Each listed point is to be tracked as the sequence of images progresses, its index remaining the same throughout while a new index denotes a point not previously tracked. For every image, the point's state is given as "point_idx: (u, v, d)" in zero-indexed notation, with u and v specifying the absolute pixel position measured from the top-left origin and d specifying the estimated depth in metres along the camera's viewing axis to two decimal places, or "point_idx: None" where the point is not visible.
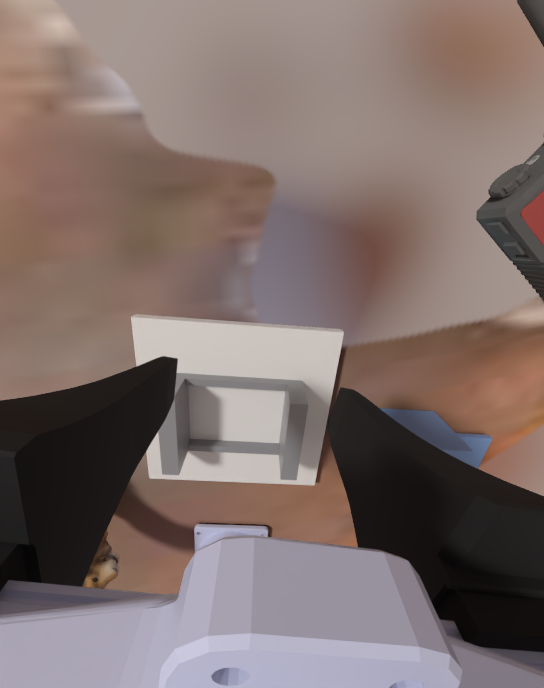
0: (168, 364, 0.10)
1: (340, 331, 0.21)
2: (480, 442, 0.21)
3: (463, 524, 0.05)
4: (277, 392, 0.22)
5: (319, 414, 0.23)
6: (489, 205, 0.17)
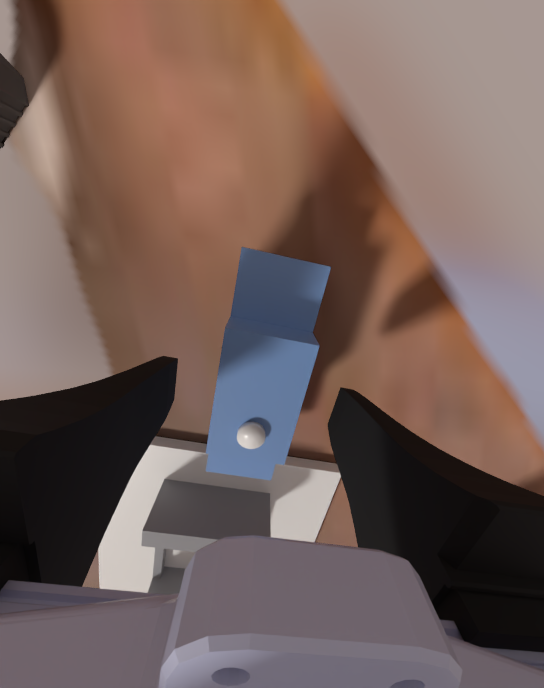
0: (168, 364, 0.10)
1: None
2: (249, 271, 0.11)
3: (463, 524, 0.05)
4: None
5: None
6: None
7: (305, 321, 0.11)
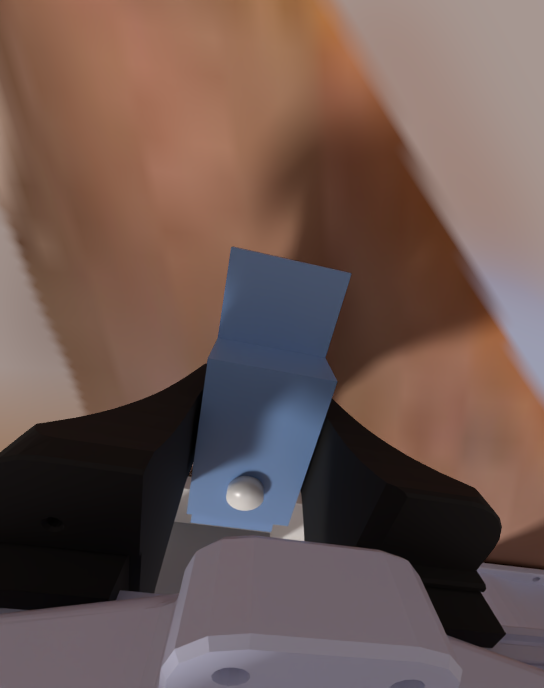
0: None
1: None
2: (242, 279, 0.08)
3: (377, 512, 0.05)
4: None
5: None
6: None
7: (316, 344, 0.09)
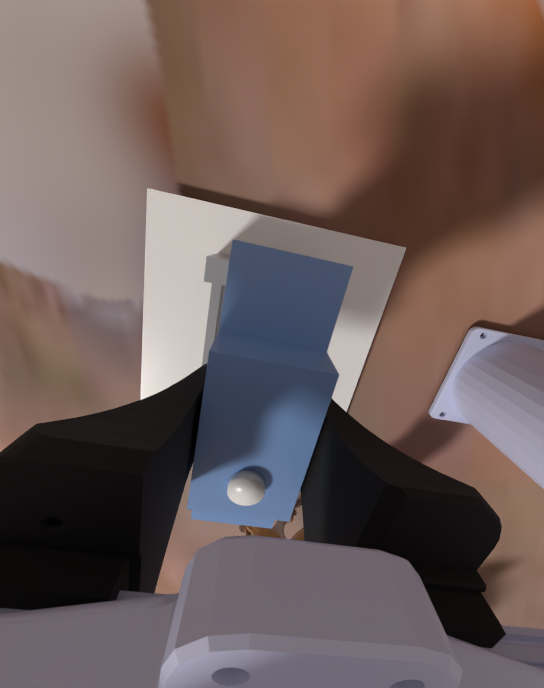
0: None
1: None
2: (243, 272, 0.08)
3: (377, 512, 0.05)
4: None
5: (274, 231, 0.16)
6: None
7: (317, 338, 0.09)
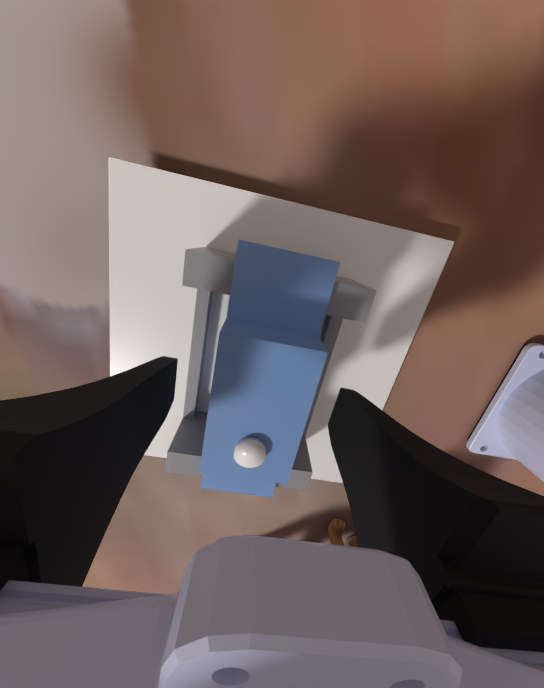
0: (168, 364, 0.10)
1: None
2: (247, 267, 0.09)
3: (463, 524, 0.05)
4: None
5: (281, 218, 0.12)
6: None
7: (310, 324, 0.10)
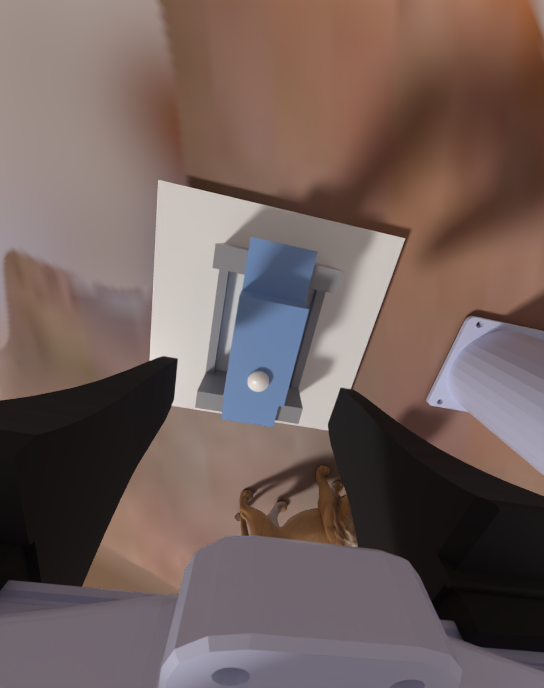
0: (168, 364, 0.10)
1: None
2: (256, 255, 0.14)
3: (464, 524, 0.05)
4: (238, 276, 0.18)
5: (279, 222, 0.17)
6: None
7: (299, 294, 0.15)
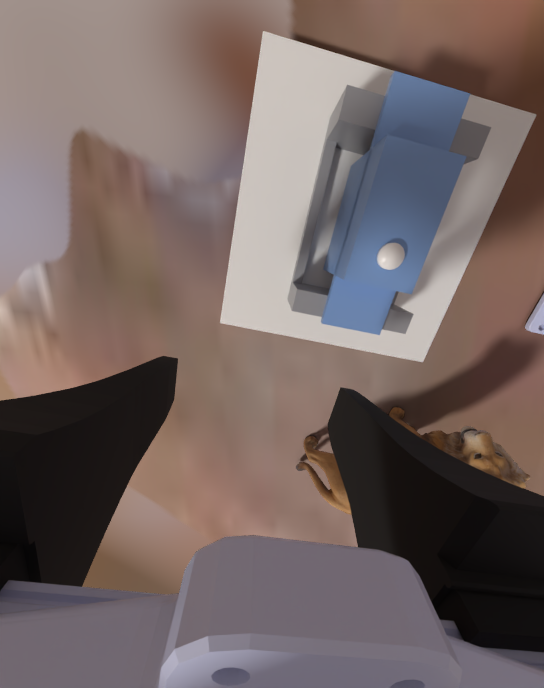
0: (168, 364, 0.10)
1: (262, 39, 0.14)
2: (397, 97, 0.12)
3: (463, 524, 0.05)
4: (341, 162, 0.16)
5: None
6: None
7: None
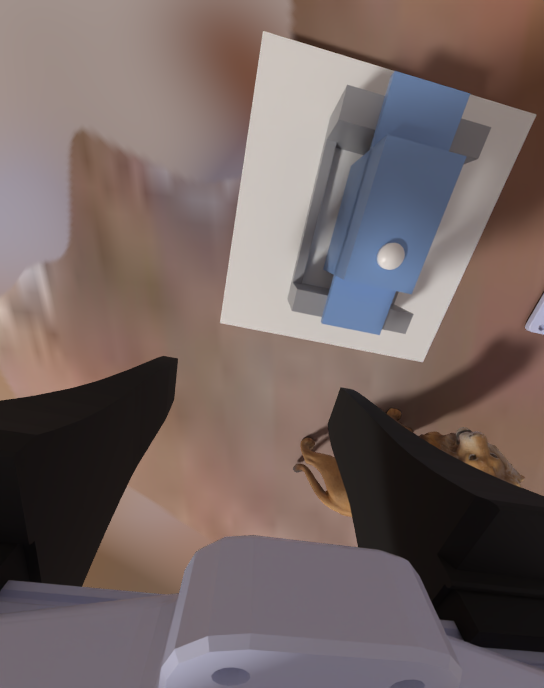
0: (168, 364, 0.10)
1: (262, 39, 0.14)
2: (397, 97, 0.12)
3: (463, 524, 0.05)
4: (341, 162, 0.16)
5: None
6: None
7: None
